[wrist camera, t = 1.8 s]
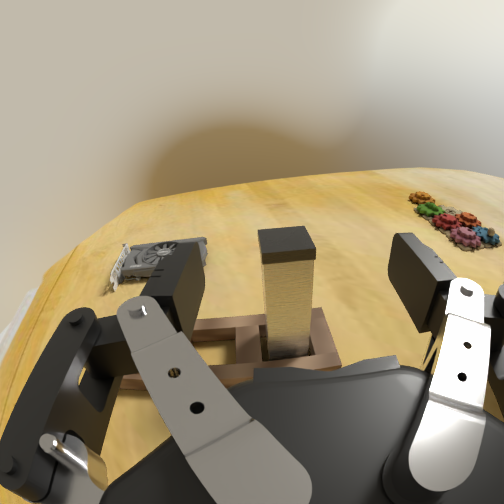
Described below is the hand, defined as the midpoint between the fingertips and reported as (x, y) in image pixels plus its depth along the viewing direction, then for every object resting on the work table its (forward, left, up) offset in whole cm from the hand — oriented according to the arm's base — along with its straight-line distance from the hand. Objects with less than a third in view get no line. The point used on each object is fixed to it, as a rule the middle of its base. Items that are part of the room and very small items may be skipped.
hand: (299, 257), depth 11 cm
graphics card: (-10, -35, -20) cm, 41 cm away
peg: (-9, -7, -19) cm, 22 cm away
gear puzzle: (-63, +4, -20) cm, 66 cm away
